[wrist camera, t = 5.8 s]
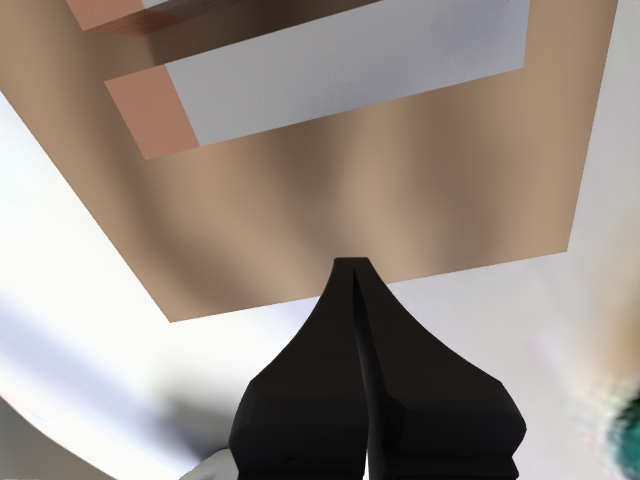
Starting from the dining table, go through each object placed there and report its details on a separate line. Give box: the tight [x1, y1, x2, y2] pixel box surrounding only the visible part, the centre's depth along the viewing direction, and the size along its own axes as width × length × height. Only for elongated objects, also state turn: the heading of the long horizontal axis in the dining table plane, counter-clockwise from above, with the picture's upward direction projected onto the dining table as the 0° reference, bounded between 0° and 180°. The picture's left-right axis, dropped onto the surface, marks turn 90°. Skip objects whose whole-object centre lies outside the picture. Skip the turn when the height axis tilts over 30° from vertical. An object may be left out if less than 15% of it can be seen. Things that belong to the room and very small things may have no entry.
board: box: [0, 0, 618, 323], centre depth 13 cm, size 23×20×1 cm
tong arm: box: [104, 0, 530, 160], centre depth 10 cm, size 12×2×3 cm, turn 103°
